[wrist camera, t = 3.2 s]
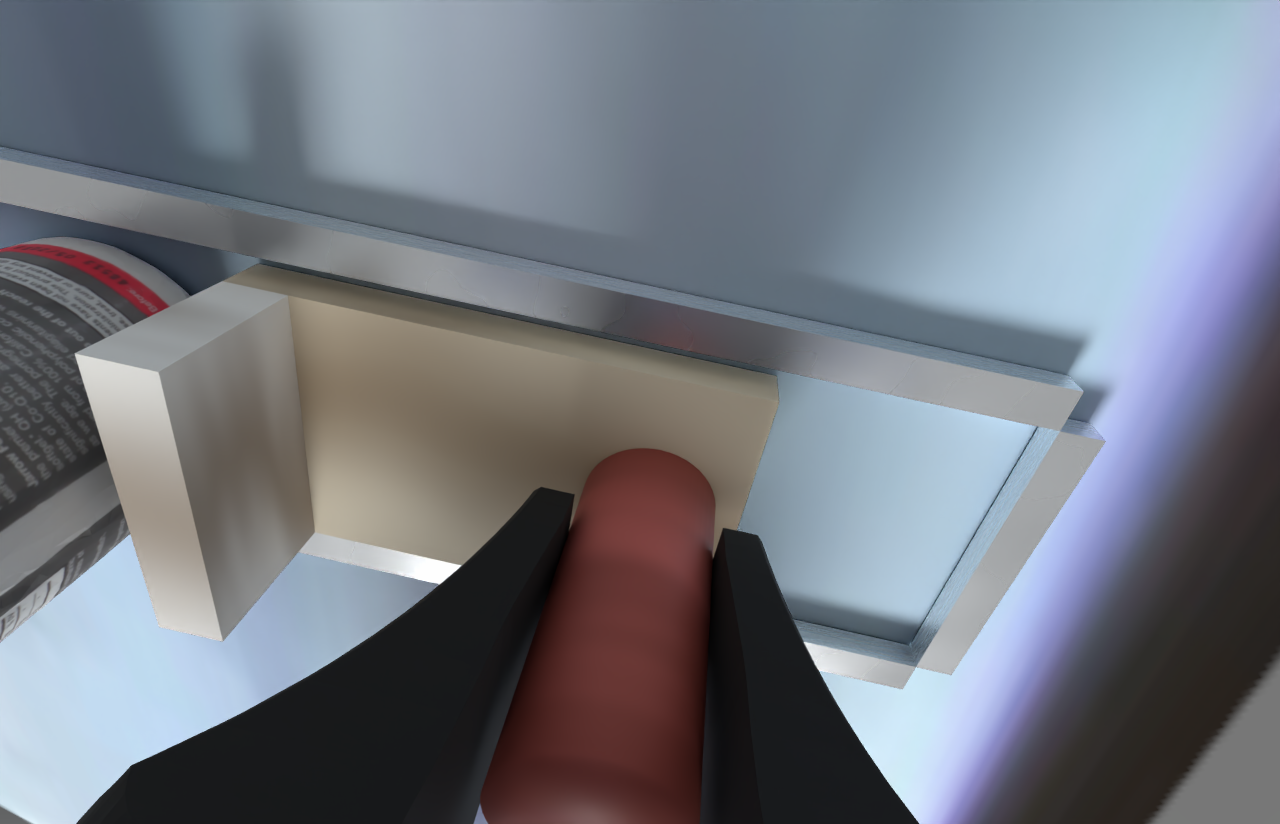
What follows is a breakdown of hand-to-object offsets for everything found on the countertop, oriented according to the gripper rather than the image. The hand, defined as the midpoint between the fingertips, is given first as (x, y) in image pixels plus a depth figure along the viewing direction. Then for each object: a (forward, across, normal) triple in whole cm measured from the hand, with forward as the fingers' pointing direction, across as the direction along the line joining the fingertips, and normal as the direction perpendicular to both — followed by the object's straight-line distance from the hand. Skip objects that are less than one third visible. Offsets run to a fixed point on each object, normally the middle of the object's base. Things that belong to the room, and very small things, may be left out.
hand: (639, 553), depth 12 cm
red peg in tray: (+2, +3, 0) cm, 4 cm away
